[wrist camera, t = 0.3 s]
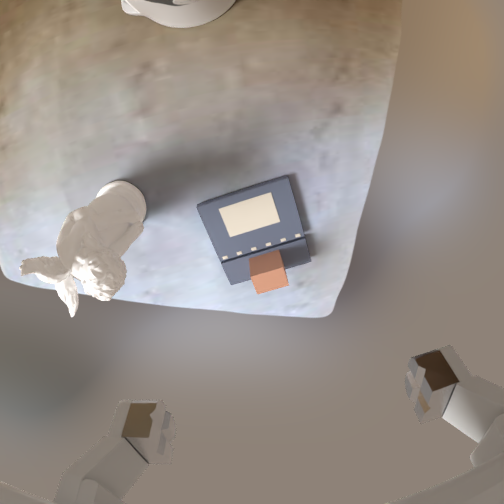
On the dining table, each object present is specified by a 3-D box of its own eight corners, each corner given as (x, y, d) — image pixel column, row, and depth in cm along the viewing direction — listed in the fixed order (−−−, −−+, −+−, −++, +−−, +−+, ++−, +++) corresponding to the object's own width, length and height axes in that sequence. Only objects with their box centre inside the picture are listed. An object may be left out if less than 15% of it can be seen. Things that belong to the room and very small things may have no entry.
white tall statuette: (162, 195, 46) (121, 285, 27) (137, 257, 52) (101, 358, 33) (92, 166, 42) (14, 237, 24) (75, 231, 48) (14, 319, 29)
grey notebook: (197, 204, 47) (196, 207, 46) (287, 175, 45) (288, 178, 44) (220, 257, 52) (220, 261, 51) (303, 232, 51) (304, 236, 49)
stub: (221, 259, 52) (220, 282, 47) (303, 234, 51) (311, 255, 45) (230, 281, 55) (230, 304, 49) (309, 257, 53) (317, 279, 48)
